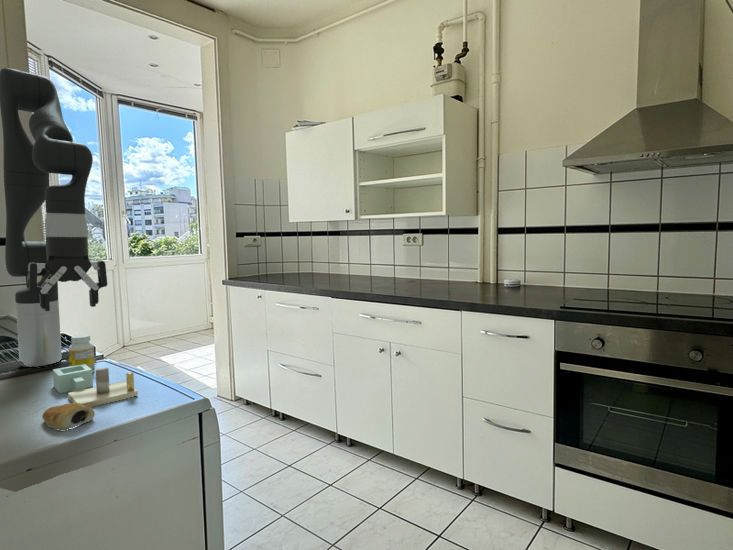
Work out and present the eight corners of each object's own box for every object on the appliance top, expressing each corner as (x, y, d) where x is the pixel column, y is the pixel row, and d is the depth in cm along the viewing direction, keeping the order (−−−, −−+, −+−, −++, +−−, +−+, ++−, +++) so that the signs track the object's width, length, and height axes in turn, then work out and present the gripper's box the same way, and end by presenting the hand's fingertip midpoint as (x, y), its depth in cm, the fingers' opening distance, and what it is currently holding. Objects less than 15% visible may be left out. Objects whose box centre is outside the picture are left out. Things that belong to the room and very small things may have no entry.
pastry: (31, 425, 80) (30, 405, 80) (68, 412, 87) (67, 393, 86) (63, 434, 77) (62, 413, 76) (100, 420, 83) (99, 401, 83)
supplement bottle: (94, 374, 109) (92, 337, 108) (68, 377, 107) (66, 339, 106) (95, 368, 114) (94, 332, 113) (71, 371, 111) (69, 334, 111)
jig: (68, 398, 93) (66, 370, 93) (124, 386, 101) (123, 360, 100) (78, 410, 87) (77, 380, 86) (137, 396, 95) (136, 368, 94)
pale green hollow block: (53, 386, 100) (52, 369, 100) (85, 379, 105) (85, 363, 105) (63, 398, 93) (62, 380, 93) (97, 390, 98) (96, 373, 97)
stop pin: (126, 390, 95) (125, 373, 94) (133, 388, 96) (132, 372, 95) (128, 391, 94) (127, 374, 94) (135, 390, 95) (134, 373, 95)
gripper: (99, 234, 101) (102, 303, 103) (22, 234, 91) (27, 309, 93) (108, 235, 96) (111, 307, 98) (28, 235, 86) (33, 315, 88)
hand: (70, 308), depth 95 cm, fingers open, 8 cm apart
